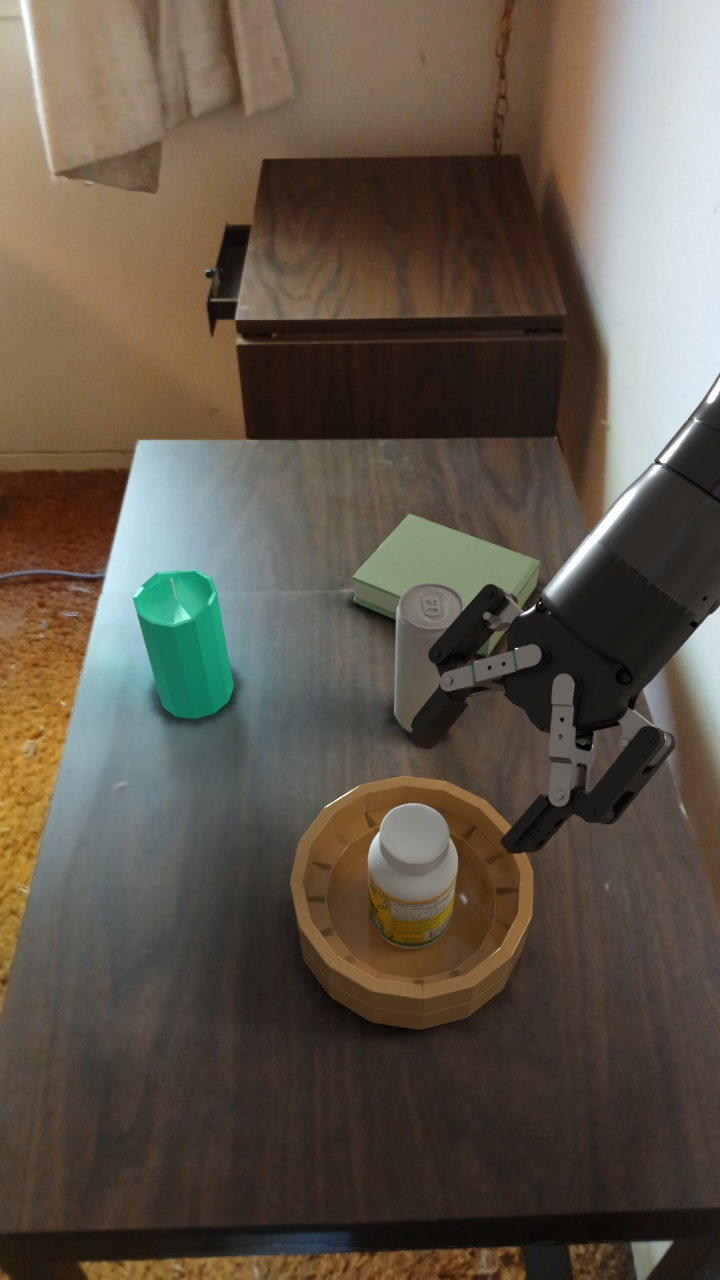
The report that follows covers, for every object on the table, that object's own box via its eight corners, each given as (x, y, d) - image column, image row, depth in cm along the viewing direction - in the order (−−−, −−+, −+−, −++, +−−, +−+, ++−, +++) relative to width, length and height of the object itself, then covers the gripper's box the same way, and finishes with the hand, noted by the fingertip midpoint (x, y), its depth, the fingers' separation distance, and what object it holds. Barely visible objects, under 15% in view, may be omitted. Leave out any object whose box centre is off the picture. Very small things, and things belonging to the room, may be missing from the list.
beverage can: (451, 690, 71) (462, 579, 62) (460, 738, 67) (472, 628, 59) (391, 694, 71) (393, 582, 62) (396, 742, 67) (399, 632, 59)
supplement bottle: (450, 955, 55) (461, 879, 48) (364, 948, 56) (363, 872, 49) (451, 877, 59) (462, 796, 52) (371, 871, 59) (371, 790, 52)
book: (536, 586, 79) (540, 561, 77) (487, 657, 73) (490, 632, 71) (408, 538, 84) (409, 513, 82) (352, 602, 78) (352, 576, 76)
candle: (247, 675, 72) (230, 564, 63) (208, 729, 68) (184, 619, 60) (184, 653, 74) (159, 542, 65) (143, 704, 70) (110, 593, 61)
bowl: (558, 879, 59) (570, 840, 56) (459, 1079, 51) (465, 1048, 47) (370, 785, 65) (370, 744, 61) (252, 952, 56) (243, 915, 52)
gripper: (528, 481, 48) (355, 706, 52) (737, 638, 40) (513, 890, 44) (584, 522, 54) (424, 721, 58) (776, 667, 46) (574, 887, 50)
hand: (462, 794), depth 51 cm, fingers open, 8 cm apart
